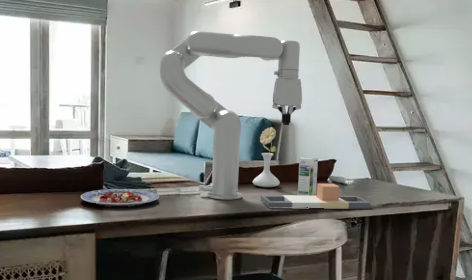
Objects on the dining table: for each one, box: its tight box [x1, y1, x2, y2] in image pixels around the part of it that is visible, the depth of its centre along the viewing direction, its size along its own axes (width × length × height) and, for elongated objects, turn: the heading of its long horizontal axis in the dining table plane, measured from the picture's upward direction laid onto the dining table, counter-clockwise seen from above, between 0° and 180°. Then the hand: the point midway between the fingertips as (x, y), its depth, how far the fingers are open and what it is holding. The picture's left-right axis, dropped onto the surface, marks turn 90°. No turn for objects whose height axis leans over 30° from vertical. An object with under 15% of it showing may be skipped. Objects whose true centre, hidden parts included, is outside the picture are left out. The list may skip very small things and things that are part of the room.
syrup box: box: [297, 156, 319, 195], centre depth 204 cm, size 6×6×14 cm
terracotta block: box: [316, 183, 340, 201], centre depth 186 cm, size 6×6×5 cm
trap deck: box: [260, 194, 372, 210], centre depth 185 cm, size 36×13×2 cm, turn 100°
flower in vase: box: [252, 126, 280, 188], centre depth 218 cm, size 13×11×25 cm
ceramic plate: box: [80, 188, 160, 207], centre depth 178 cm, size 26×26×3 cm
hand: (285, 124), depth 195 cm, fingers closed
